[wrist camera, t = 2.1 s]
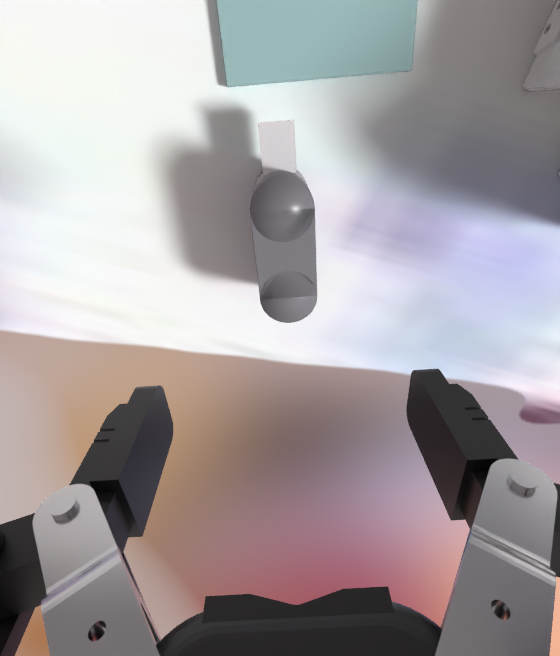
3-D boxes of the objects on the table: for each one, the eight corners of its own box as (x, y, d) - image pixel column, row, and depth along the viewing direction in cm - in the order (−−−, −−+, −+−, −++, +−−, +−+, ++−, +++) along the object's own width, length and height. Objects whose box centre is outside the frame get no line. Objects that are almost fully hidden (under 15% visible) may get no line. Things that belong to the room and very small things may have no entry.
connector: (304, 118, 26) (312, 119, 21) (310, 287, 32) (317, 320, 27) (247, 123, 26) (240, 125, 21) (264, 290, 32) (263, 324, 27)
